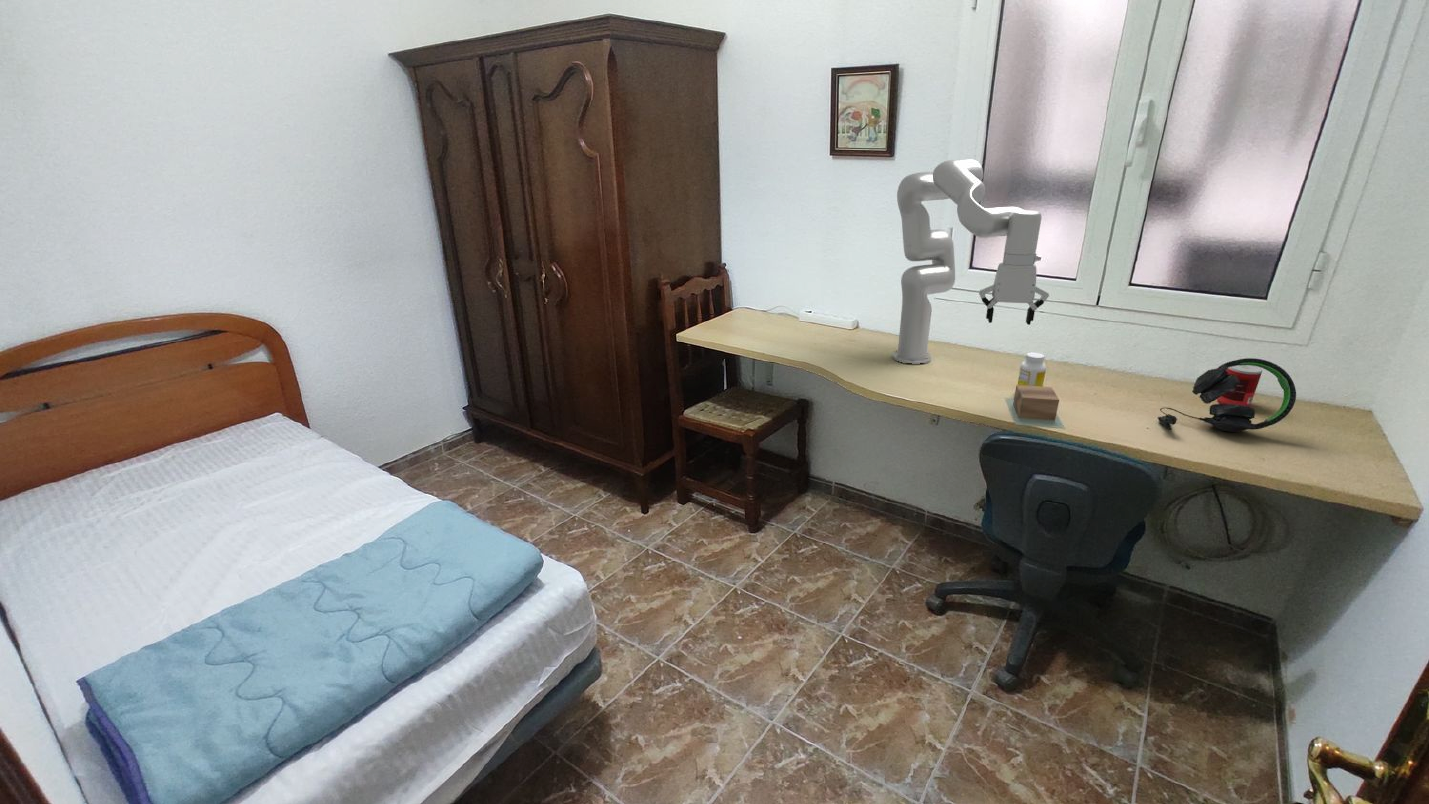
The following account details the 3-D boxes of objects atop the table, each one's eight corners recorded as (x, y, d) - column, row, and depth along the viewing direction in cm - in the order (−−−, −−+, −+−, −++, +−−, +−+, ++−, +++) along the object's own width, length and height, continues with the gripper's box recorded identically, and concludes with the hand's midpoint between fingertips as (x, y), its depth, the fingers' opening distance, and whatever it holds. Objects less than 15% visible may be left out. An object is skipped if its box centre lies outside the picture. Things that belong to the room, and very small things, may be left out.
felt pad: (1004, 399, 186) (1004, 397, 185) (1049, 402, 183) (1049, 401, 183) (1015, 426, 170) (1015, 424, 170) (1064, 430, 167) (1065, 428, 167)
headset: (1170, 452, 172) (1301, 415, 160) (1179, 453, 160) (1322, 413, 148) (1141, 390, 176) (1267, 350, 164) (1148, 386, 164) (1285, 342, 152)
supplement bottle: (1040, 393, 189) (1048, 352, 184) (1040, 402, 184) (1048, 360, 178) (1015, 390, 192) (1023, 349, 187) (1015, 398, 186) (1022, 357, 181)
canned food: (1243, 399, 182) (1256, 363, 177) (1254, 410, 175) (1268, 373, 171) (1211, 396, 184) (1223, 360, 180) (1221, 407, 177) (1233, 370, 173)
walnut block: (1012, 404, 181) (1016, 384, 179) (1047, 407, 179) (1051, 387, 177) (1018, 417, 173) (1022, 397, 171) (1054, 420, 171) (1059, 400, 169)
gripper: (1052, 257, 169) (1041, 320, 176) (982, 256, 174) (973, 317, 181) (1057, 263, 163) (1045, 328, 170) (984, 261, 167) (976, 324, 174)
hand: (1008, 322), depth 175 cm, fingers open, 9 cm apart
